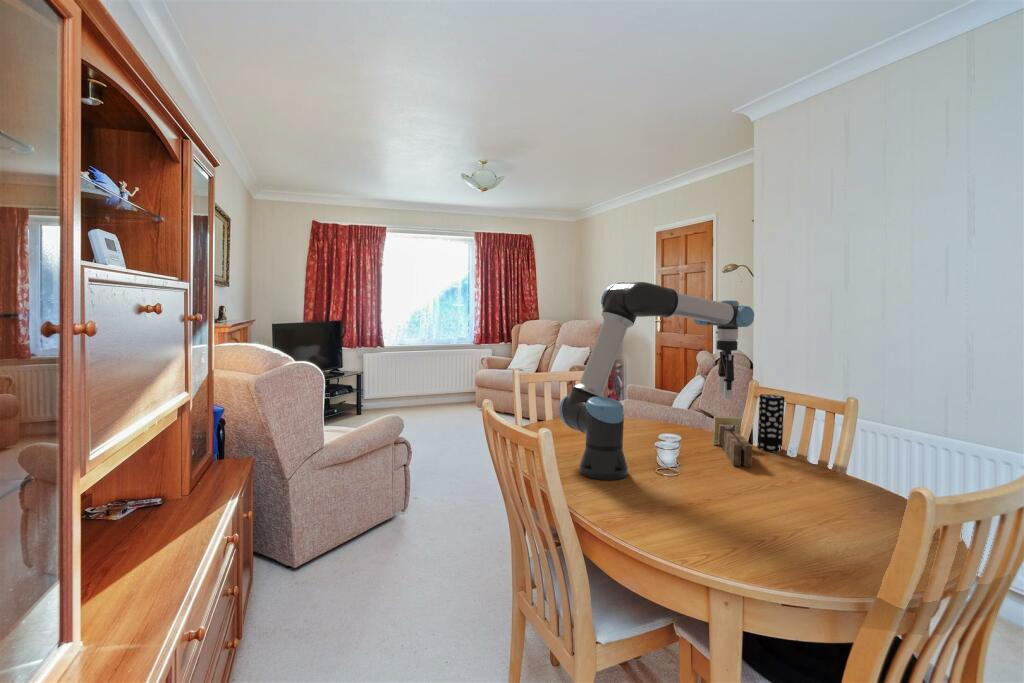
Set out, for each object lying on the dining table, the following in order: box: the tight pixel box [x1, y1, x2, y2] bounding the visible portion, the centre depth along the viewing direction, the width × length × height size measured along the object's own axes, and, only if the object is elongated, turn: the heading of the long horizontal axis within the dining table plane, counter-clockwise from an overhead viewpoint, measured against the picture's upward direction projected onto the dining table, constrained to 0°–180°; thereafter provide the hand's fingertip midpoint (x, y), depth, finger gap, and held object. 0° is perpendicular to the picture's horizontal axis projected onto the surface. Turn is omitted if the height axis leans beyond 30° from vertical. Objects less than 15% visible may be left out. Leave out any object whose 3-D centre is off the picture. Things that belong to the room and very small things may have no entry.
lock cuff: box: [712, 415, 742, 446], centre depth 197 cm, size 3×9×11 cm, turn 78°
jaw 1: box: [723, 431, 741, 467], centre depth 180 cm, size 20×2×7 cm, turn 166°
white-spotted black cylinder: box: [756, 393, 786, 453], centre depth 192 cm, size 8×8×20 cm
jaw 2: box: [731, 431, 753, 468], centre depth 180 cm, size 20×2×7 cm, turn 170°
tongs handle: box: [718, 424, 735, 449], centre depth 195 cm, size 11×4×8 cm, turn 168°
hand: (724, 395), depth 202 cm, fingers open, 11 cm apart
